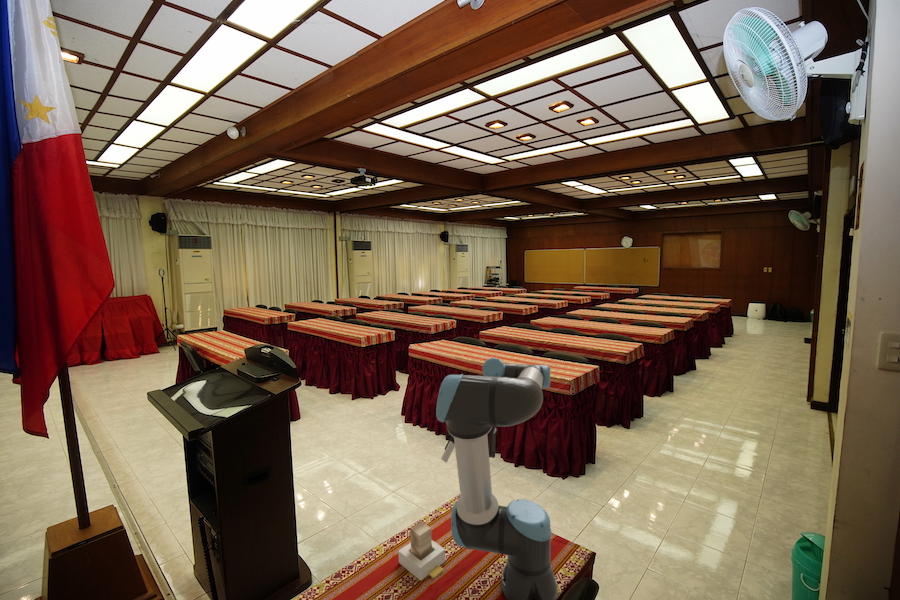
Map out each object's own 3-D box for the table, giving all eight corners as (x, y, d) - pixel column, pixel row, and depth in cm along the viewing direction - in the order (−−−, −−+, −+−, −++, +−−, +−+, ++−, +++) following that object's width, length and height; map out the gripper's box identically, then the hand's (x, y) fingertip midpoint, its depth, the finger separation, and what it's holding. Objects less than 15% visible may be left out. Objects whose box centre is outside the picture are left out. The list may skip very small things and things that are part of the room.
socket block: (450, 565, 120) (450, 552, 119) (425, 585, 113) (425, 572, 112) (423, 545, 128) (423, 533, 128) (399, 562, 121) (398, 550, 121)
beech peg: (432, 561, 121) (431, 528, 120) (421, 570, 118) (419, 535, 117) (422, 554, 125) (421, 521, 123) (411, 562, 122) (410, 528, 120)
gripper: (521, 424, 133) (493, 486, 123) (465, 406, 150) (437, 459, 141) (511, 413, 128) (482, 476, 119) (455, 396, 146) (426, 450, 137)
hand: (458, 467), depth 130 cm, fingers open, 13 cm apart
